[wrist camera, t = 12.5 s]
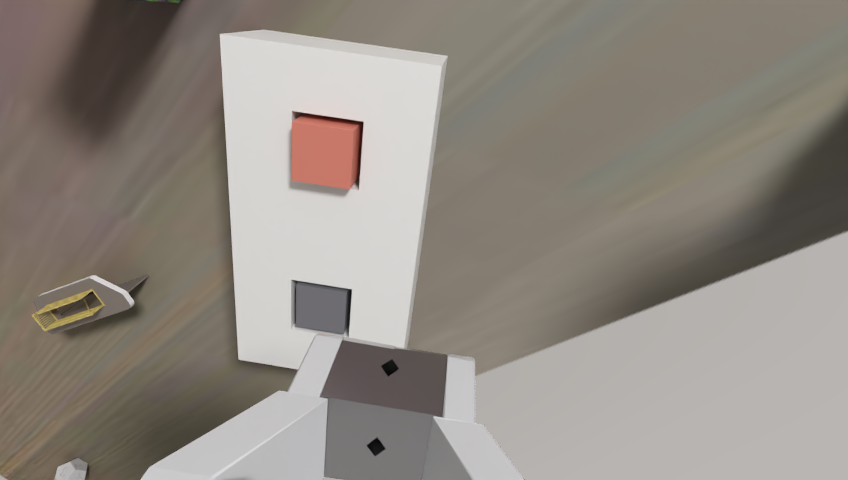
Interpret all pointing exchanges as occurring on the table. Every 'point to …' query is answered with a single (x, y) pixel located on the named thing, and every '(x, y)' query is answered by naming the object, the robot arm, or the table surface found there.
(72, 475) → the grey irregular lump
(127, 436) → the table surface
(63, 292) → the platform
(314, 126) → the red plug
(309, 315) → the gray rectangular block
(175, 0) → the syrup box
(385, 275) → the block
